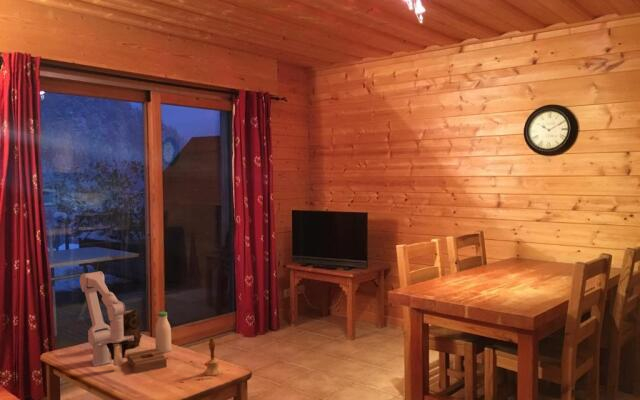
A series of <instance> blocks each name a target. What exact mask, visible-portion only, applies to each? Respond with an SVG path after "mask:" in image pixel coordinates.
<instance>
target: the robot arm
mask: <svg viewBox="0 0 640 400" xmlns="http://www.w3.org/2000/svg"><path fill="white" fill-rule="evenodd" d="M79 277H80V278H79V285H80V289H81V291H82V293H84V294H85V295H84V296H85V299H86V303H87V307H88V308H87V309H88V311H89V316H90V319H91V324H92V326H91V327H90V328H89V329H88V331H87V333H88V335H87V336H88V338H87V339H88V343H89V345H91V346H92V359H91V360H90V361H91V363H92V366H94V367H97V366H102V365H108V364H113V363H112V360H113V359H114V354H113V348H114V346H113V343H119V342H121V344H122V359H124V358H125V355H126V351H127V350H126V348H127V346H128V344H129V342H128V341H133V340H134V336H133V335H132V336H124V329H123V314H125V311H127V310H126V306H125V303H124V302H122V301H120V300H118V298H117V297H116V295H115V294H114V293H113V292H112V291H110V290H109V289H108V286H107V284H106V283H105V275H104V273H103V271H101V270H99V271H93V272H88V273H82V274H81V275H80V276H79ZM97 292H99V295H101V301H102V303H103V304H104V305H105V307H106V312H107V315H108V321H109V324H106V323H105V322H104V319H103V314H102V310H101V306H100V302H99V297H98V293H97ZM110 357H111V358H110Z"/></svg>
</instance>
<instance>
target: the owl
mask: <svg viewBox="0 0 640 400" xmlns="http://www.w3.org/2000/svg"><path fill="white" fill-rule="evenodd" d="M139 325H140V317H139V316H138V313H137V309H133V310H126V311H125V314H123V329H124V336H132V335H133V336H134V340H133V341H128V342H129V344H128V346H127V348H126V351H129V350H133V349H136V348H137V347H139V346H140V342H141V339H142V333H141V330H140V329H139V327H138V326H139ZM115 344H121V342H119V343H113V345H115Z"/></svg>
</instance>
